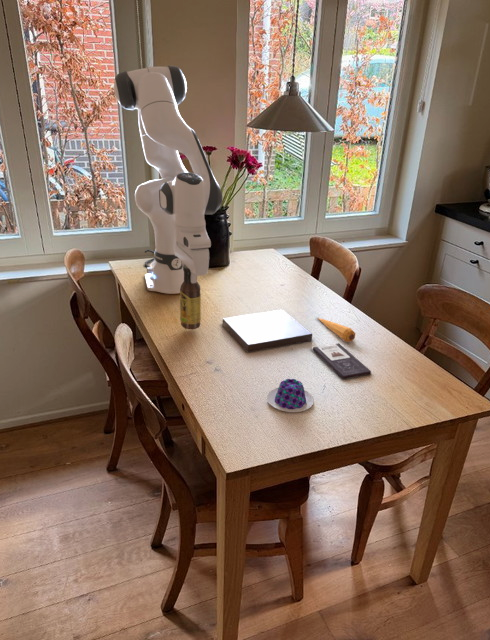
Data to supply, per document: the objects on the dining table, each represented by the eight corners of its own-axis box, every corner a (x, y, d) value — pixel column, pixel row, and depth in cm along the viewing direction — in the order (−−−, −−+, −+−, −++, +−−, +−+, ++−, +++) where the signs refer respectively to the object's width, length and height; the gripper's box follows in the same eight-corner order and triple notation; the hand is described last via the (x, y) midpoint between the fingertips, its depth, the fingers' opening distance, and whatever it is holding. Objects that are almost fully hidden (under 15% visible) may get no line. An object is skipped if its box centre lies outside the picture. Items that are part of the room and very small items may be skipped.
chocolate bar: (343, 376, 147) (313, 347, 161) (342, 379, 147) (312, 350, 161) (370, 371, 150) (338, 343, 164) (370, 374, 151) (338, 346, 165)
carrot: (354, 345, 168) (359, 331, 167) (343, 342, 165) (349, 328, 164) (319, 325, 184) (324, 313, 183) (309, 322, 181) (314, 310, 180)
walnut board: (222, 325, 173) (222, 318, 172) (281, 316, 182) (282, 309, 181) (248, 352, 158) (248, 344, 157) (311, 340, 167) (312, 333, 166)
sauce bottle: (179, 322, 170) (178, 262, 160) (199, 321, 171) (198, 261, 161) (182, 331, 164) (180, 269, 154) (202, 330, 166) (202, 268, 156)
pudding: (323, 406, 135) (325, 389, 132) (284, 419, 129) (285, 401, 127) (295, 384, 144) (297, 367, 141) (257, 396, 138) (258, 378, 135)
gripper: (168, 224, 159) (169, 268, 166) (191, 245, 144) (191, 293, 151) (188, 223, 162) (188, 266, 169) (213, 243, 146) (212, 290, 153)
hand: (190, 279), depth 160 cm, fingers closed on sauce bottle, 4 cm apart
